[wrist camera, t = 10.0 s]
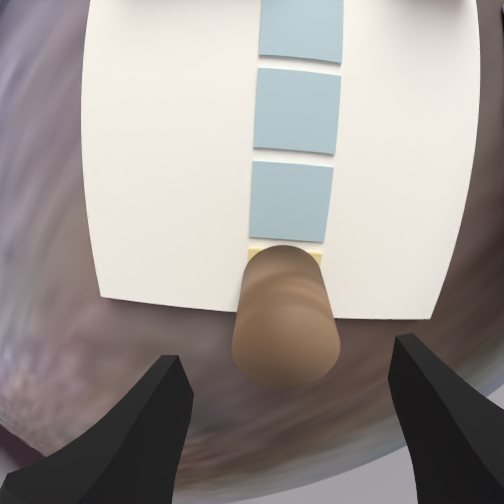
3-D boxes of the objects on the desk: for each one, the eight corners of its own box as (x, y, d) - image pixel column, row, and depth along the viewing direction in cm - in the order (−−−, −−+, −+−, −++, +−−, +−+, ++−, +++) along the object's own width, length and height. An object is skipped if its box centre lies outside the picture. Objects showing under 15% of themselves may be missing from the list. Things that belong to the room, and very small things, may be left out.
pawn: (319, 240, 14) (341, 302, 9) (323, 309, 15) (338, 382, 11) (236, 249, 14) (221, 314, 10) (249, 316, 16) (240, 390, 11)
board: (449, -74, 6) (478, -98, 3) (422, 307, 17) (448, 349, 13) (128, -100, 7) (101, -129, 3) (109, 286, 17) (78, 325, 14)
